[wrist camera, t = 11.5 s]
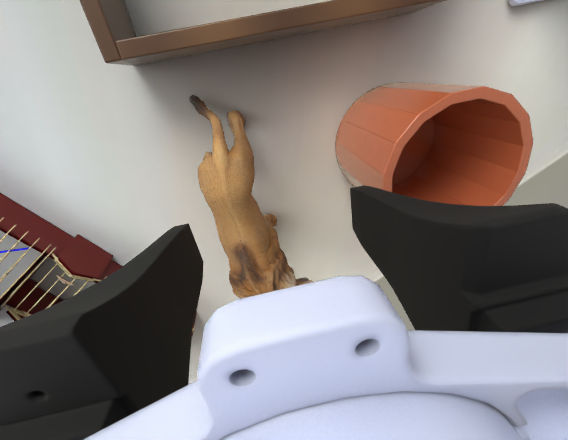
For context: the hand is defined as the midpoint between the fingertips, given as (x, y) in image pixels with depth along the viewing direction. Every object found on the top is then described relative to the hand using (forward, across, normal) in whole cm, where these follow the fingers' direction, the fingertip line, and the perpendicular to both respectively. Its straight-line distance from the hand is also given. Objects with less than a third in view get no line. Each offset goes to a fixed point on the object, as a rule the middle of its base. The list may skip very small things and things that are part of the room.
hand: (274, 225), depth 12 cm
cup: (+10, -10, 0) cm, 13 cm away
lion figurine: (+10, +1, +2) cm, 10 cm away
